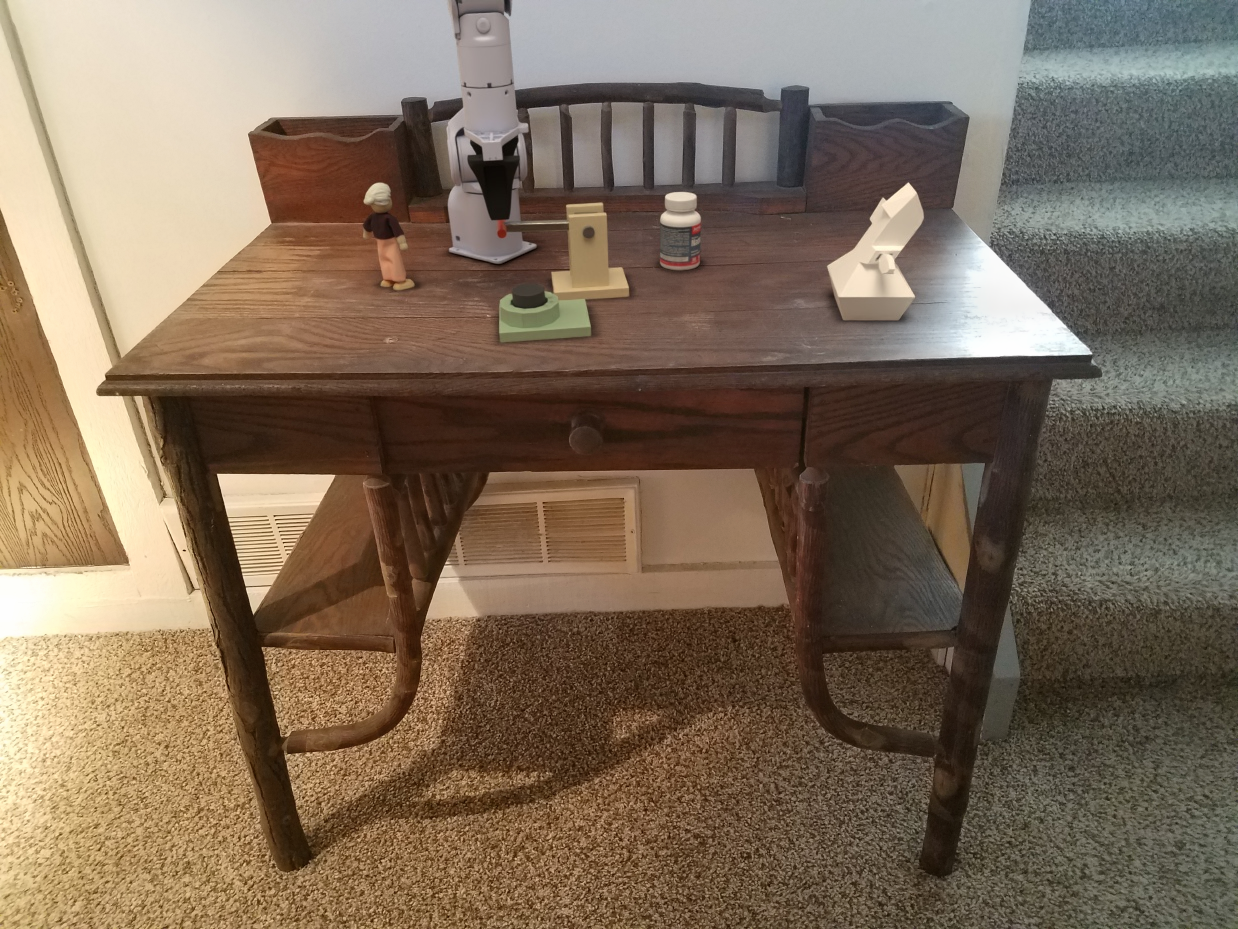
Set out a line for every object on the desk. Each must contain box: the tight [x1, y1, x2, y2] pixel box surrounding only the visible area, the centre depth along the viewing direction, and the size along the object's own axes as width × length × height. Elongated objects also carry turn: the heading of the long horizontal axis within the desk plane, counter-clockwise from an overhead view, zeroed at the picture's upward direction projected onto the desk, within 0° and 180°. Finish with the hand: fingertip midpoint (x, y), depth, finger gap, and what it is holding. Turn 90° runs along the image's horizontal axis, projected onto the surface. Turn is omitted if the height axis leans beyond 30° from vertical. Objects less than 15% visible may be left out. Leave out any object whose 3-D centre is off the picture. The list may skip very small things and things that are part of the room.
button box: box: [498, 291, 592, 343], centre depth 98 cm, size 10×8×3 cm
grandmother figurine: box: [362, 182, 416, 291], centre depth 107 cm, size 8×4×13 cm, turn 65°
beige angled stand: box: [826, 182, 925, 321], centre depth 96 cm, size 8×14×14 cm, turn 176°
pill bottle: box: [659, 191, 702, 272], centre depth 111 cm, size 5×5×9 cm
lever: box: [497, 212, 598, 238], centre depth 103 cm, size 12×5×2 cm, turn 97°
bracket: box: [550, 202, 630, 301], centre depth 105 cm, size 9×7×10 cm
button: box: [511, 283, 545, 309], centre depth 97 cm, size 4×4×2 cm
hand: (500, 209), depth 101 cm, fingers open, 7 cm apart
